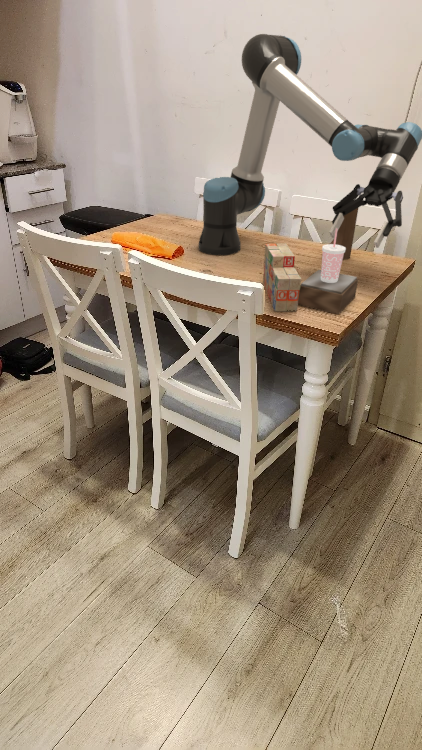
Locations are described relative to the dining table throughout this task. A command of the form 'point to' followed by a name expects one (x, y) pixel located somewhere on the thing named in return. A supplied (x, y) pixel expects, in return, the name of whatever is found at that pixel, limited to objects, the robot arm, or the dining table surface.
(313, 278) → the plinth
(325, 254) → the beverage cup
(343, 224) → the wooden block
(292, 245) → the dining table surface
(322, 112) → the robot arm
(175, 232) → the dining table surface
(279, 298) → the stack of blocks
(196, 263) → the dining table surface
